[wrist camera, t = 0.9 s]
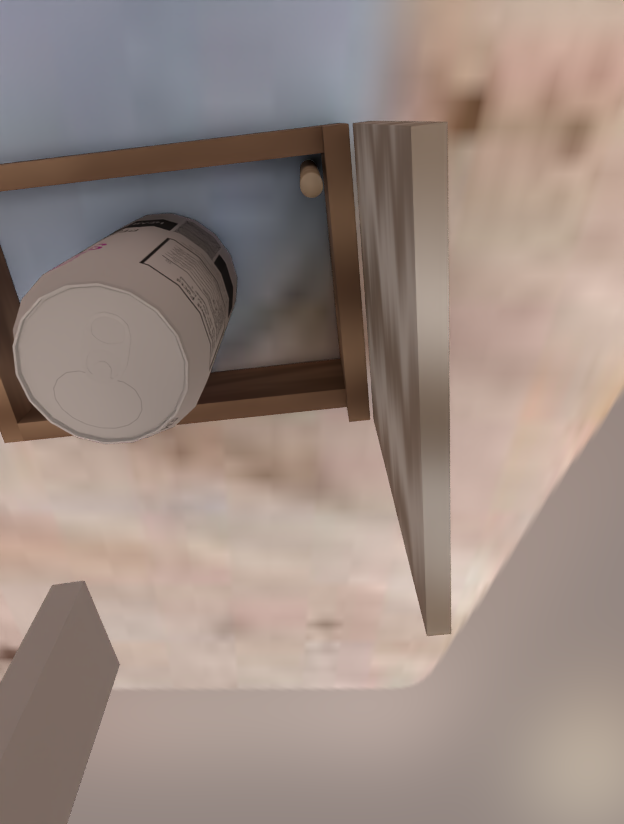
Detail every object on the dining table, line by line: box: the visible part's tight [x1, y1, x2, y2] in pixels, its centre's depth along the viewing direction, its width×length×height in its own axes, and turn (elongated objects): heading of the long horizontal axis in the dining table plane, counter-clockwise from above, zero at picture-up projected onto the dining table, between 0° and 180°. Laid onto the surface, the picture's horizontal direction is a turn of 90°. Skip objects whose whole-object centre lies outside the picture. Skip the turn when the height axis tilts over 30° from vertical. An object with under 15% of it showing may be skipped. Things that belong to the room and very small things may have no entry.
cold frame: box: [0, 121, 451, 636], centre depth 27 cm, size 15×23×23 cm, turn 96°
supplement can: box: [12, 213, 237, 444], centre depth 31 cm, size 8×8×15 cm
